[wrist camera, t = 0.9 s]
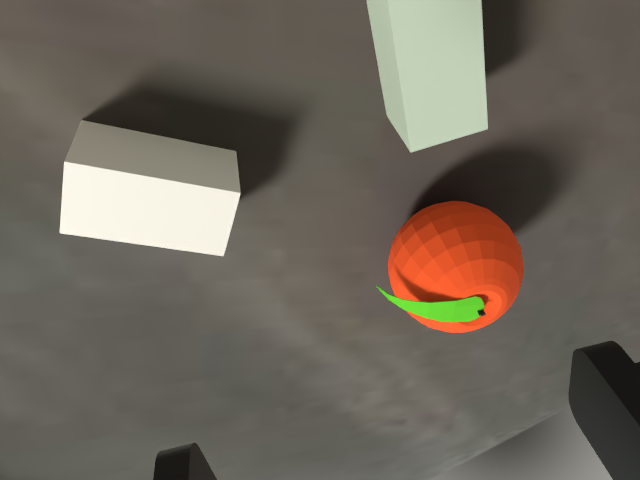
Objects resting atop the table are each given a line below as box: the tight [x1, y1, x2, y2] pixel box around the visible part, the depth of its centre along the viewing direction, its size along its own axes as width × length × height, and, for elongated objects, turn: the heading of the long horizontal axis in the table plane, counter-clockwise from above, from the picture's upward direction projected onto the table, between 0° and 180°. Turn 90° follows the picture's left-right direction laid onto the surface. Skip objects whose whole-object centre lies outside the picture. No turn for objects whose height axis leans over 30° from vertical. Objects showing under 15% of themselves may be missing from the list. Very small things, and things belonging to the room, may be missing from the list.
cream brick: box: [60, 120, 241, 256], centre depth 25 cm, size 7×4×4 cm, turn 72°
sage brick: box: [367, 0, 488, 152], centre depth 23 cm, size 7×4×4 cm, turn 14°
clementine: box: [376, 201, 524, 333], centre depth 29 cm, size 8×7×7 cm
